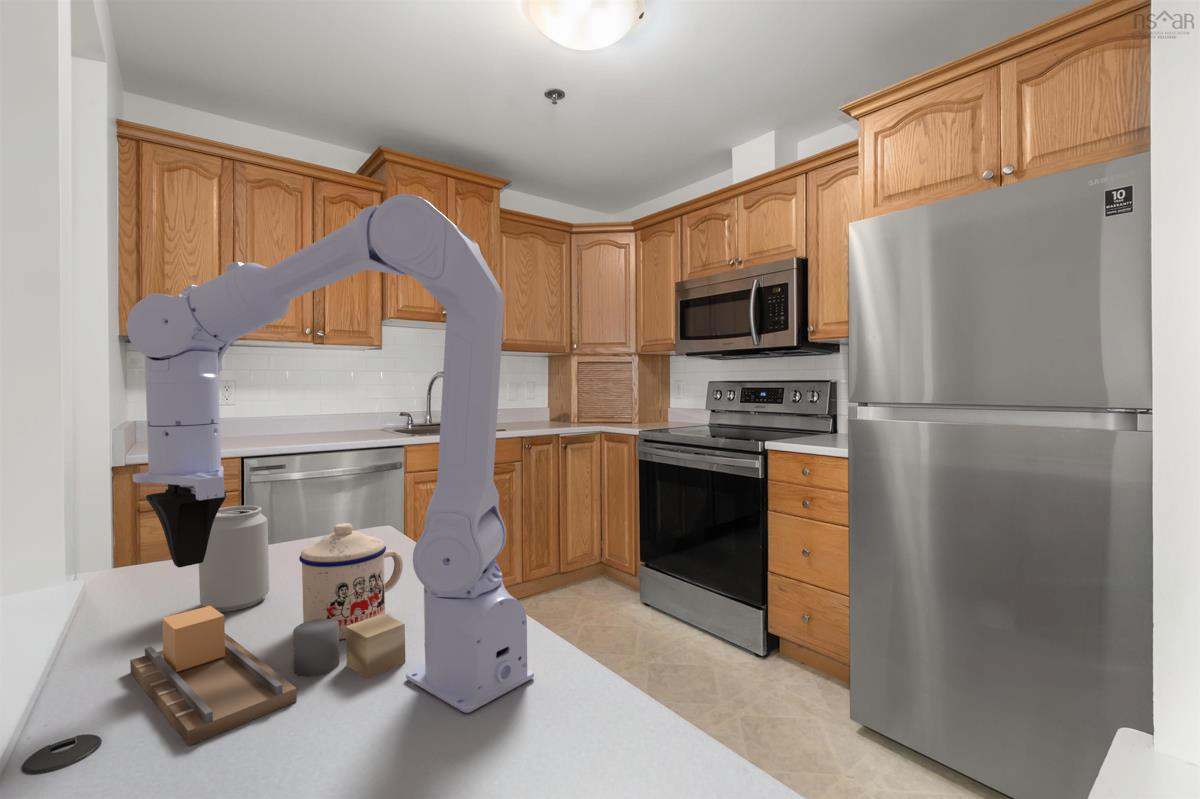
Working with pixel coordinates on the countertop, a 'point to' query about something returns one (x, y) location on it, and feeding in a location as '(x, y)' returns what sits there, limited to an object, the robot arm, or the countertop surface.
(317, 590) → the teacup with lid
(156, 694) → the board
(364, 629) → the oak block
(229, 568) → the can
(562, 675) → the countertop surface
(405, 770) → the countertop surface
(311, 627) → the charcoal cylinder
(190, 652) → the slider
